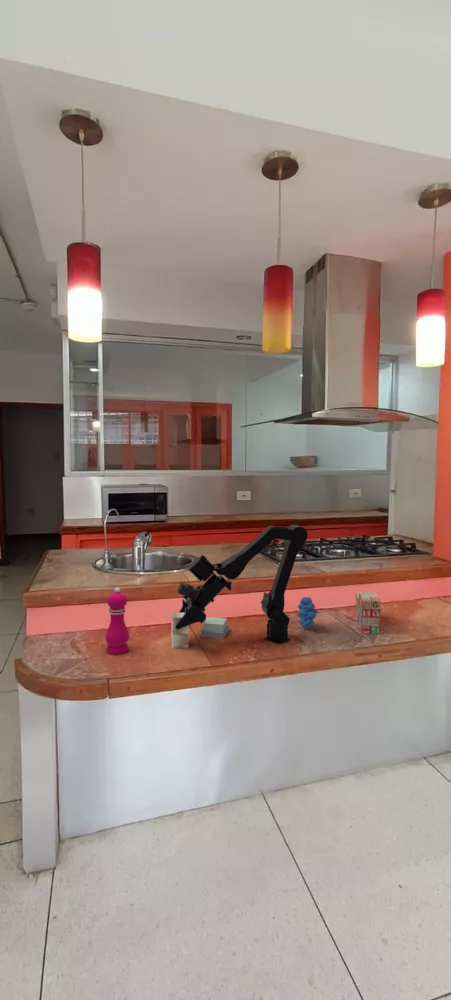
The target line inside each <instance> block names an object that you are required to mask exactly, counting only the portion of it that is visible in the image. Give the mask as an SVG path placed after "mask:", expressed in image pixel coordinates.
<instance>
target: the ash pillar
mask: <svg viewBox="0 0 451 1000" xmlns="http://www.w3.org/2000/svg"><path fill="white" fill-rule="evenodd" d="M184 614H185V612H184V613H179V612H171V626H170V627H171V630H170V631H171V634H170V635H171V639H170V640H171V641H170V642H171V648H172V649H188V648H189V625H188V626H185V627H183V628H180V629H176V628H175V626H176V625H177V624H178V622H179V621H180V619H181V618H182V617H183V615H184Z"/></svg>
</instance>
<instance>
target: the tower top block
mask: <svg viewBox="0 0 451 1000" xmlns="http://www.w3.org/2000/svg"><path fill="white" fill-rule="evenodd" d="M227 620H228V619H227V618H224V617H223V618H222V617H208V616H206V620H205V621H204V622H203V623H202V629H203V630H204V631H217V632H223V631H224V629H225V628H226V626H228V625H227V623H228V621H227Z"/></svg>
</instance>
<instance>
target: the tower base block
mask: <svg viewBox="0 0 451 1000" xmlns="http://www.w3.org/2000/svg"><path fill="white" fill-rule="evenodd" d="M229 627H230V626H229V625H227V626H226V628H225V629H224V631H223V632H217V631H204V630H203V628H202V629H201V630H200V632H199V633H200V634H199V635H200V637H201V638H203V637H204V638H209V639H210V638H214V639H224V638H225V637H226V635H227V634H228V633H229Z"/></svg>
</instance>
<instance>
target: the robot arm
mask: <svg viewBox="0 0 451 1000" xmlns="http://www.w3.org/2000/svg"><path fill="white" fill-rule="evenodd" d="M308 536H309V534H308V531H307V529H306V528H304V527H303V526H300V525H297V524H291V525H289V526H274V525H268V526H267V527H266V528H265V529H264V531H262V532H261V533H259V535H257V536H256V537H255V538H254V539H253V540H252V541H251V542H249V544H246V546H245V547H244V548H242V549H241V550H240V551H238V552H237V553H234V554H233V555H231V556H229V557H226V559H224V560H223V561H221V562H218V563H213V564H212V563H211V562H210V561H209V560H208V558H207V557H206V556H205V555H204V554H201V555H200V556H198V557H197V558H196V559H193V560H192V562H190V564H189V565H188V566H187V570H188V571H189V572H190V573H191V574H192V575H193V577H195V578H196V579H197V580H198V581H199V582H201V581H203V582H204V583H203V584H202V585H201V584H200V585H197V587H195V586H193V585H191V584H189V583H186V582H185V581H180V583H179V585H178V587H177V589H176V591H177V593H178V594H179V595H181V596H182V599H181V602H182V603H181V605H182V606H181V608H180V610H179V611H178V613H184V612H185V614H184V615H183V617H182V618H181V619H180V621H179V622H178V624H177V625H176V626H175V628H176V629H180V628H183V627H185V626H188V627H189V625H190V626H191V625H193V624H196V623H200V624H203V623H204V621H205V620H206V619H207V613H206V612H205V611H206V607H207V606H209V604H210V603H214V601H215V598H216V597H217V596H218V595H219V594H220V593H221V592H222V591H223V590H224V588H226V589H227V590H229V591H232V581H231V580H236V579H237V578H238V577H240V575H241V573H243V571H244V570H245V568H246V567H247V565H248V564H249V563H250V561H251V560H252V559H253V558H254V557H256V556H257V555H259V553H261V552H262V551H263V550H264V549H265V548H266V547H267V546H268V545H270V544H271V543H272V542H273V541H274V540H275V539H276V540H283V544H284V545H283V546H284V548H283V549H284V550H283V553H282V556H281V559H280V562H279V565H278V568H277V570H276V574H275V577H274V581H273V584H272V586H271V589H270V591H269V592H265V591H264V592H263V597H262V599H261V601H260V604H261V610H262V612H263V613H264V614H265V615H266V616H267V618H268V619H267V624H266V636H265V637H264V640H267V641H270V642H273V643H276V644H282V643H284V642H285V643H286V642H287V641H291V637H289V634H288V633H289V623H290V621H291V619H290V617H289V616H288V615H287V614H286V613H285V612H284V609H285V592H286V589H287V587H288V583H289V580H290V577H291V574H292V572H293V568H294V566H295V563H296V559H297V556H298V553H300V551H301V550H302V548H303V547H304V546H305V544H306V542H307V539H308V538H309V537H308ZM215 572H216V573H215ZM225 578H226V579H225ZM227 579H228V580H227Z"/></svg>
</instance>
